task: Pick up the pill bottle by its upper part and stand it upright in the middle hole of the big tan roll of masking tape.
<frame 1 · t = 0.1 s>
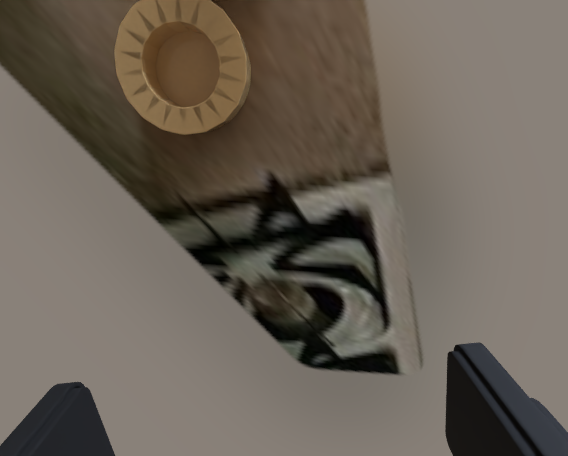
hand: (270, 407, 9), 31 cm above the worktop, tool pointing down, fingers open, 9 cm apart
tape roll: (192, 71, 35), on the worktop
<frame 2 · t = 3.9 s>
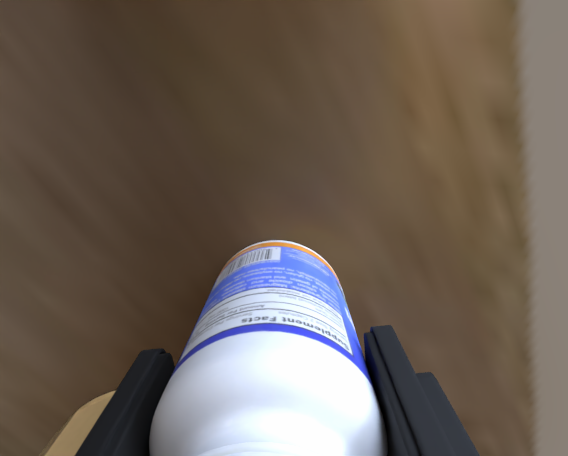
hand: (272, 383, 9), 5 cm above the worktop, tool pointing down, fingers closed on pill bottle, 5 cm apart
pill bottle: (277, 293, 14), on the worktop, touching gripper
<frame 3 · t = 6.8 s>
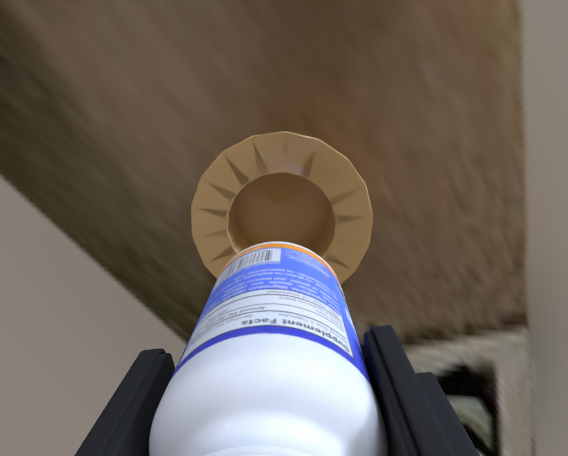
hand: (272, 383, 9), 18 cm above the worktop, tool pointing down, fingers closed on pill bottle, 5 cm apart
tape roll: (282, 210, 26), on the worktop
pill bottle: (277, 294, 14), point 13 cm above the worktop, touching gripper
when the fingers open (5 cm above the worktop, at t = 9.6 s): pill bottle stays where it is, resting on tape roll.
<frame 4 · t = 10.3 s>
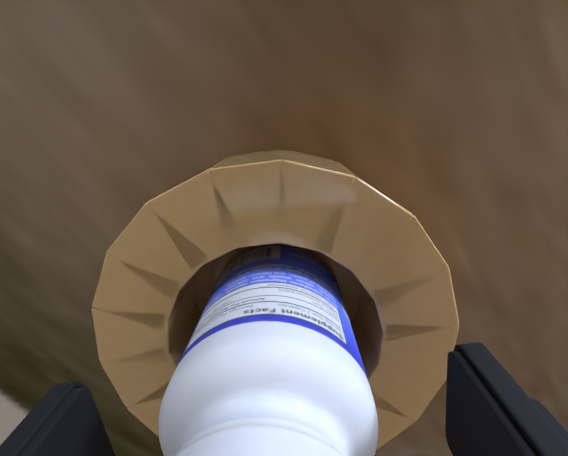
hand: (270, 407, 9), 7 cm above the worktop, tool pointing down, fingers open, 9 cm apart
tape roll: (277, 288, 15), on the worktop
pill bottle: (277, 290, 15), resting on tape roll
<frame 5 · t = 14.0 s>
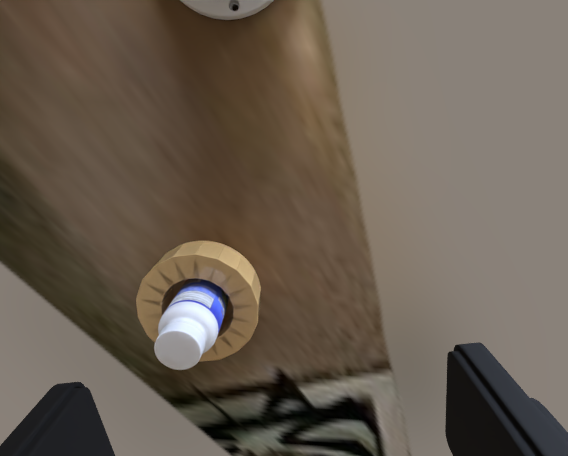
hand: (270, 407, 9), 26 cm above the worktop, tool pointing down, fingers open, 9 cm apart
tape roll: (206, 291, 37), on the worktop
pill bottle: (206, 292, 37), resting on tape roll
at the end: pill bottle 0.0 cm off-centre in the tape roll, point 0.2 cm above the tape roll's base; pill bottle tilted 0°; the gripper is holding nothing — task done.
